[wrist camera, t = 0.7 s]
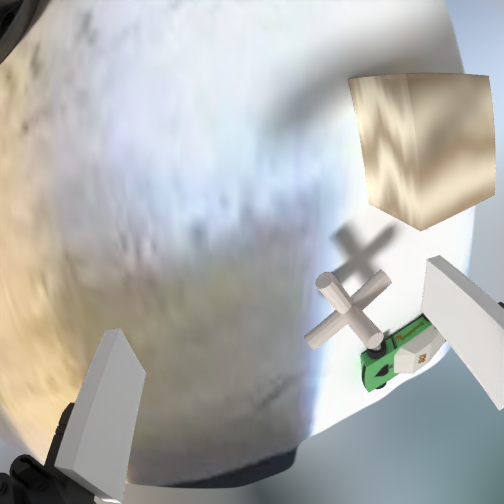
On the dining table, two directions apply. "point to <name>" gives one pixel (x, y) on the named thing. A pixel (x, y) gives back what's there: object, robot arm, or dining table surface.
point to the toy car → (401, 353)
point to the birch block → (426, 143)
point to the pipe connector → (348, 310)
